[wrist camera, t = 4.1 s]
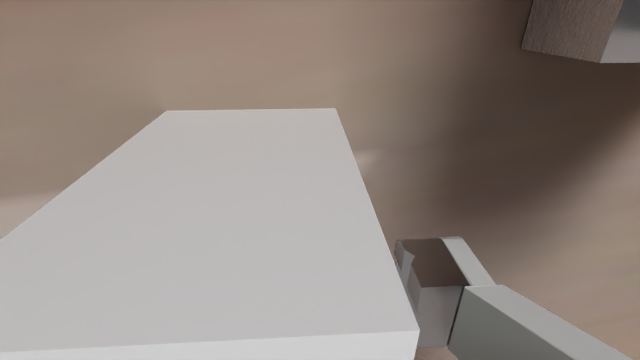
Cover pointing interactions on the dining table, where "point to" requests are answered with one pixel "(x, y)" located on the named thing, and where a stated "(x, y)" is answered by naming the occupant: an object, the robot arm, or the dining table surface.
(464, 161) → the dining table surface
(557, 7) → the rail
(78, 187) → the block
